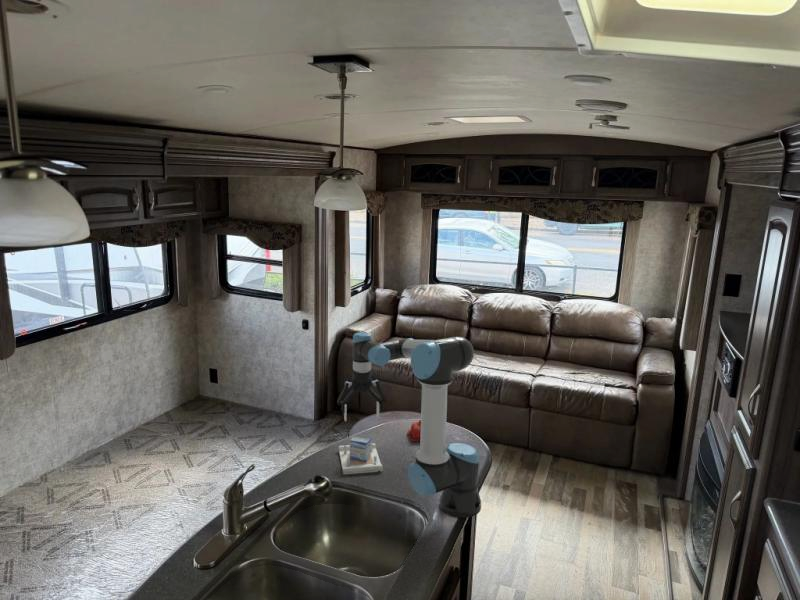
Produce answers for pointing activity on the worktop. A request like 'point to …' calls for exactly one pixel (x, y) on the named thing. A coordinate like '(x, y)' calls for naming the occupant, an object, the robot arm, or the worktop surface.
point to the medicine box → (360, 449)
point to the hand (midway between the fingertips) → (361, 418)
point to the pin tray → (359, 466)
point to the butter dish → (415, 431)
